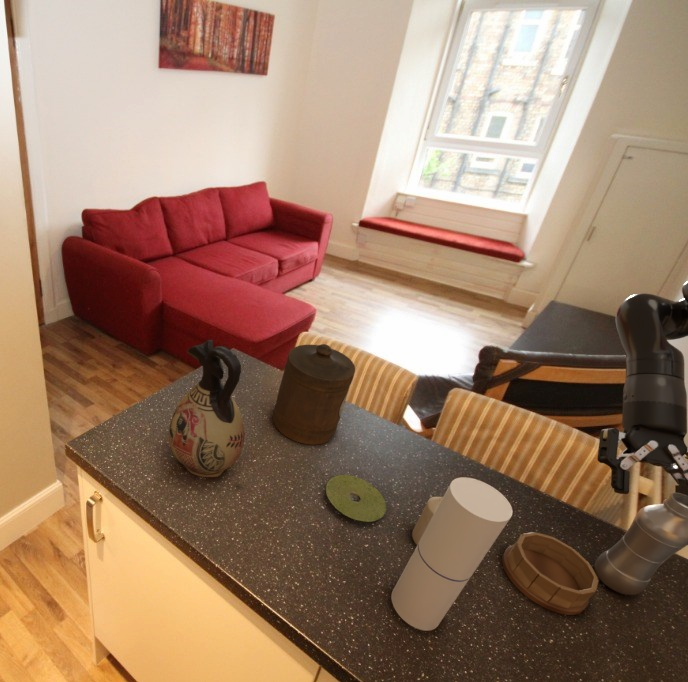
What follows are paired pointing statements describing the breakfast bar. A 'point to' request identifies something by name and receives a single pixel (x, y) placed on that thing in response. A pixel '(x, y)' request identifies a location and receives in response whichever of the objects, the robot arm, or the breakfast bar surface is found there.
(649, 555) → the silver metal bottle
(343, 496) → the mat
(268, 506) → the breakfast bar surface
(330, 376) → the wooden container
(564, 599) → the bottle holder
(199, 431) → the ceramic jug
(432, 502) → the candle
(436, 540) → the cylindrical container
